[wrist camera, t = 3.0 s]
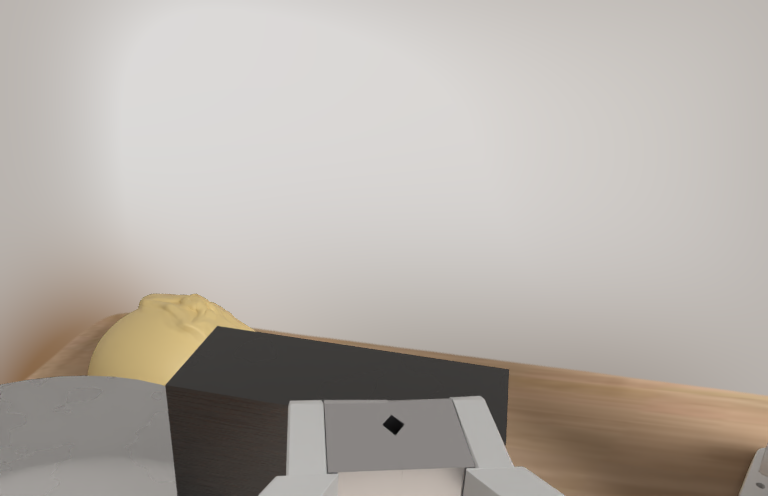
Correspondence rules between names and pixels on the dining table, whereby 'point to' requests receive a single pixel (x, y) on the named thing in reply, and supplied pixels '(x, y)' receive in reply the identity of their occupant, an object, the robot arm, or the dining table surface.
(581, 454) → the dining table surface
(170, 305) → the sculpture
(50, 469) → the cooker lid
